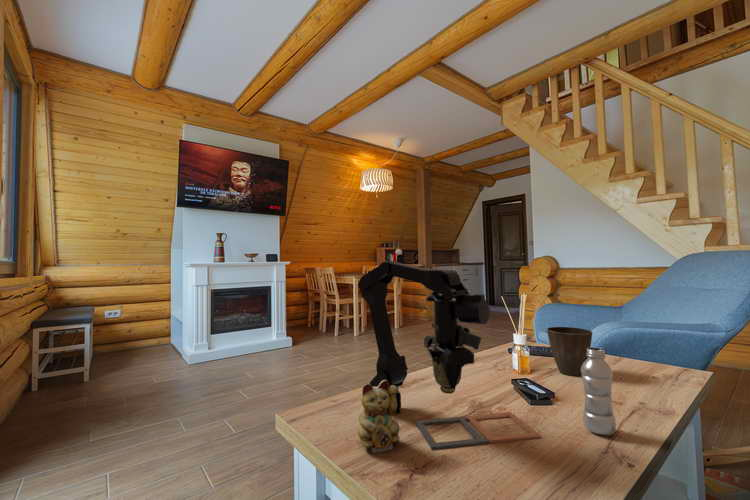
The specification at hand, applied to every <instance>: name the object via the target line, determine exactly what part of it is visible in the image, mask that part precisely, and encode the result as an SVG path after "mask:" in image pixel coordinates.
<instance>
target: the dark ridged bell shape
mask: <svg viewBox="0 0 750 500" xmlns="http://www.w3.org/2000/svg"><path fill="white" fill-rule="evenodd" d="M441 360H444V359H442V356H440V358H438V357H437V356H435V357H434V358H432V359H431V362H432V363H431V364H432V372H433V376H434V380H435V382H436V383H437V385H439V386H440V387H439V389H440V391H441V392H442V393H444V394H446V395H447V394H449V395H450V394H454V393H455V391H456V387H457V386H458V385H459V383H460V382H461V379H462V372H463V371H462V370H463V367H462V368H461V371H460V374H459V377H458V380H457V384H456V387H455V388H454V389H451V388H450V385H449V383H448V380H447V377H446V374H445V371H444V368H443V365H442V362H441Z"/></svg>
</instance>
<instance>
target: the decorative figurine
mask: <svg viewBox="0 0 750 500" xmlns="http://www.w3.org/2000/svg"><path fill="white" fill-rule="evenodd" d="M398 388H399V387H398ZM398 388H397V387H396V386H394V385H392V386H389V382H388V381H387V380H383V381H381V382H380V384H379V386H375V387H372V385H370V383H365V384H364V385H363V387H362V395H361V398H360V399H361V404H362V407H363V410H362V411H361V412H360V414H359V416H358V422H359V426H358V428H357V434H358V437H359V440H360V442H361V445H362V446H363V447H364V448H365V449H369V450H370V451H371V453H373V454H375V453H381V452H386V451H390V450H393V444H395V443H397V442H400V440H401V439H400V436H399V433H400V424H399V422H398V421H397V420H394V419H392V418H393V417H392V416H393V415H394V413H395V412H396V410H397V400H396V396H395V394H397V393H398V392H400V388H399V389H398Z"/></svg>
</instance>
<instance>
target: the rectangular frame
mask: <svg viewBox="0 0 750 500" xmlns="http://www.w3.org/2000/svg"><path fill="white" fill-rule="evenodd" d="M501 418H509V419H510V420H511V421H513V422H514V423H515V424H516V425H518V426H519V427H520V428H521V429H523V430H524V431H525V433H515V434H503V435H497V436H496V435H495V436H493V435H491V434H490V433H489V432H488V431H487V430H486V429H485V428H484V427H483V426H482V425H481V424H480V423H479V422H478V421H481V420H490V419H491V420H492V419H501ZM451 423H452V424H453V423H460V425H461V426H462V427H463V428H464V429H465V430H466V431H467V432H468V433H469V434H470V435H471V437H472V438H469V439H459V440H449V441H441V442H439V441H438V442H436V441H435V439H434V438H433V436H432V435H431V433H430V432H429V430H428V429H427V428H426V426H428V425H429V426H430V425H432V426H433V425H440V424H451ZM415 425H416V426H417V429H418V430H419V431H420V433H421V435H422V436H423V438H424V440H425V441H426V443H427V444H428V446H429V448H430V449H431V450H432V451H433V450H440V449H441V450H442V449H450V448H451V449H452V448H459V447H460V448H462V447H467V446H468V447H469V446H480V445H487V444H495V443H496V444H497V443H504V442H505V443H506V442H513V441H524V440H533V439H541V438H542V437H541V436H542V434H540V433H539V432H537V431H536V430H535V429H533V428H532V426H531V427H530V426H529V425H528V424H527V423H525V422H524V421H523V420H522V419H520V418H519V417H518V416H517V415H515V414H514V413H512V412H510V411H508V412H507V411H506V412H496V413H494V412H493V413H484V414H474V415H473V414H472V415H464V416H463V415H462V416H454V417H453V416H451V417H444V418H433V419H421V420H420V419H419V420H415ZM479 433H480V434H479Z"/></svg>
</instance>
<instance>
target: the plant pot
mask: <svg viewBox="0 0 750 500" xmlns="http://www.w3.org/2000/svg"><path fill="white" fill-rule="evenodd" d="M546 331H547V337H548V343H549V345H550V350H551V353H552V356H553V359H554V362H555V364H556V367H557V369H558V371H559V373H560V374H562V375H565V376H569V377H570V376H571V377H579V376H581V377H582V373H581V366H582V364H583V363H584V362H585V361H586V360H587V358H588V356H587V355H586V354H587V348H590V347H591V346H592V340H593V339H592V338H593V331H591V330H589V329H585V328H579V327H570V326H569V327H568V326H551V327H547V328H546Z"/></svg>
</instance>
